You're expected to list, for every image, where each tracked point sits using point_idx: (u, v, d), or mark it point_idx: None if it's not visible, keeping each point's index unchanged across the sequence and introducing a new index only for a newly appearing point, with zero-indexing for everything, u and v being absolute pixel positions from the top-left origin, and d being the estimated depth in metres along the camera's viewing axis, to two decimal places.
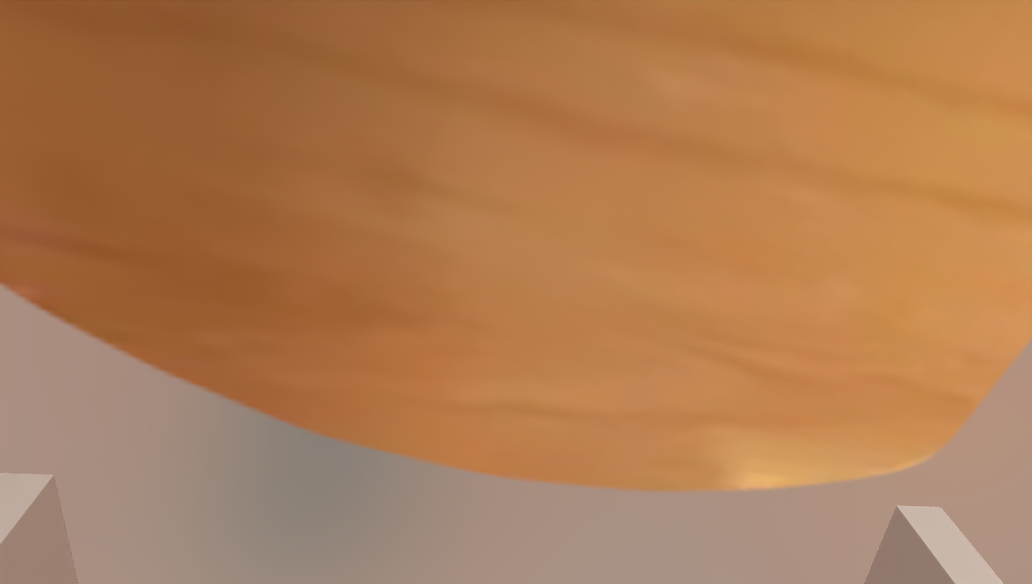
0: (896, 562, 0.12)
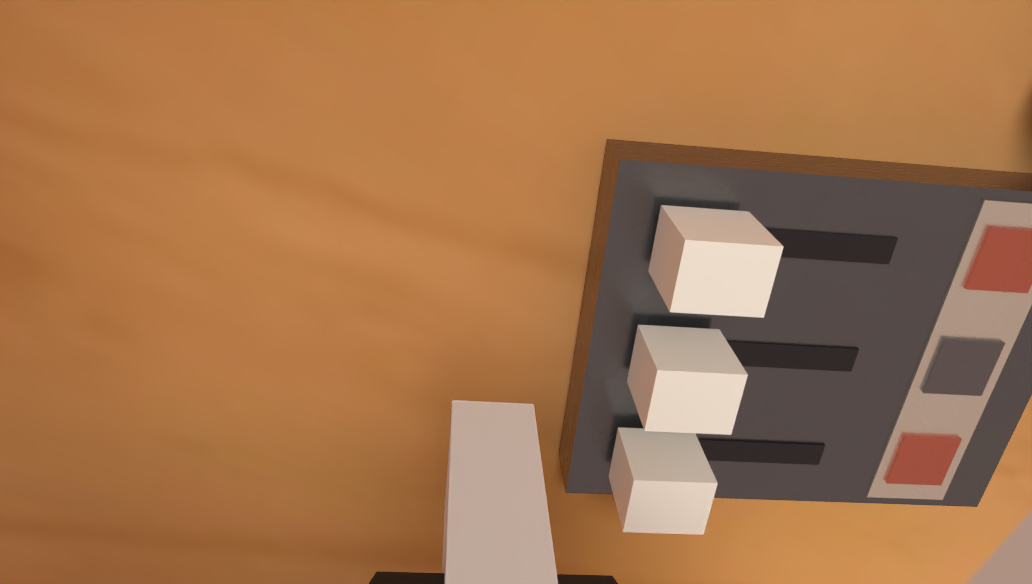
0: None
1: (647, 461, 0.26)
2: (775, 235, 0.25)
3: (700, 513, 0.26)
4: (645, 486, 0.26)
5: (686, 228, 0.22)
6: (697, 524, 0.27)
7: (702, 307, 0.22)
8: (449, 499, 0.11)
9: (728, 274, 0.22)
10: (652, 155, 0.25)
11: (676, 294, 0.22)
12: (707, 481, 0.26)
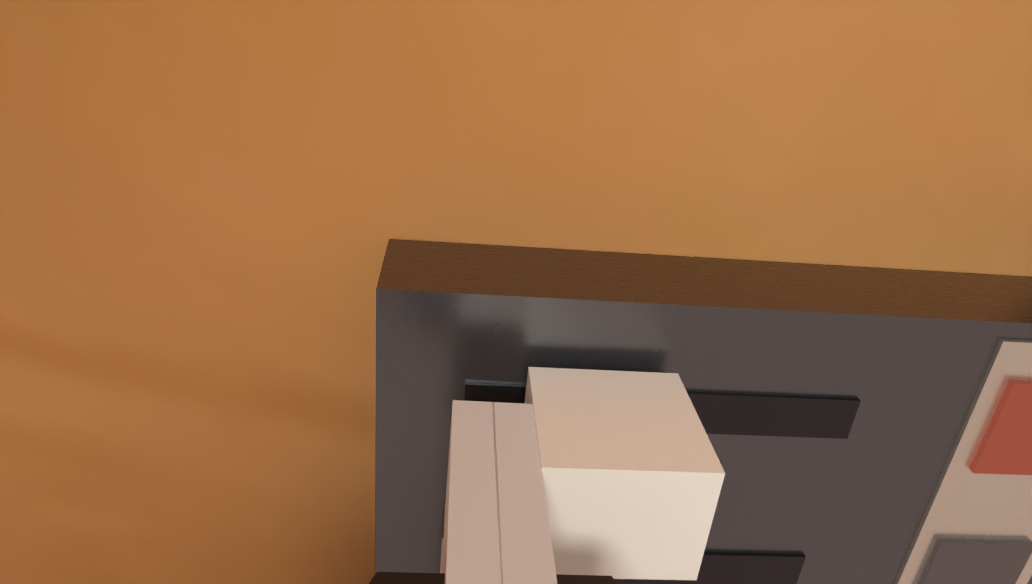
0: None
1: None
2: None
3: None
4: None
5: (554, 431, 0.13)
6: None
7: (585, 569, 0.13)
8: (449, 499, 0.11)
9: (627, 517, 0.12)
10: (444, 275, 0.15)
11: None
12: None
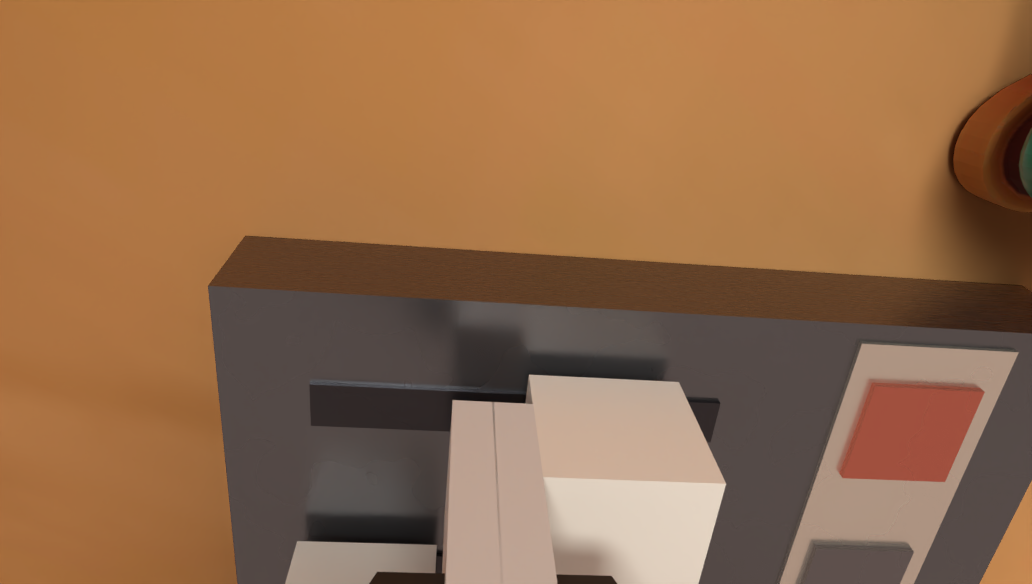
0: None
1: None
2: (512, 401, 0.15)
3: None
4: None
5: (555, 440, 0.12)
6: None
7: None
8: (449, 499, 0.11)
9: (628, 527, 0.12)
10: (286, 272, 0.14)
11: None
12: None
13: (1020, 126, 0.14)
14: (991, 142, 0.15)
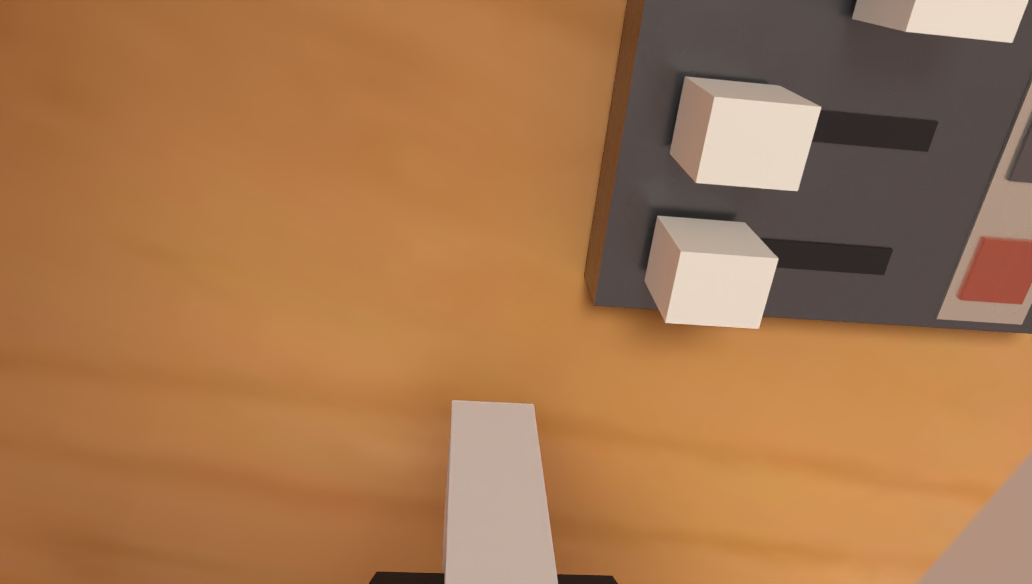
0: None
1: (694, 239, 0.23)
2: None
3: (756, 299, 0.22)
4: (693, 261, 0.22)
5: None
6: (752, 314, 0.23)
7: (943, 26, 0.19)
8: (449, 499, 0.11)
9: None
10: None
11: (916, 7, 0.19)
12: (766, 257, 0.22)
13: None
14: None
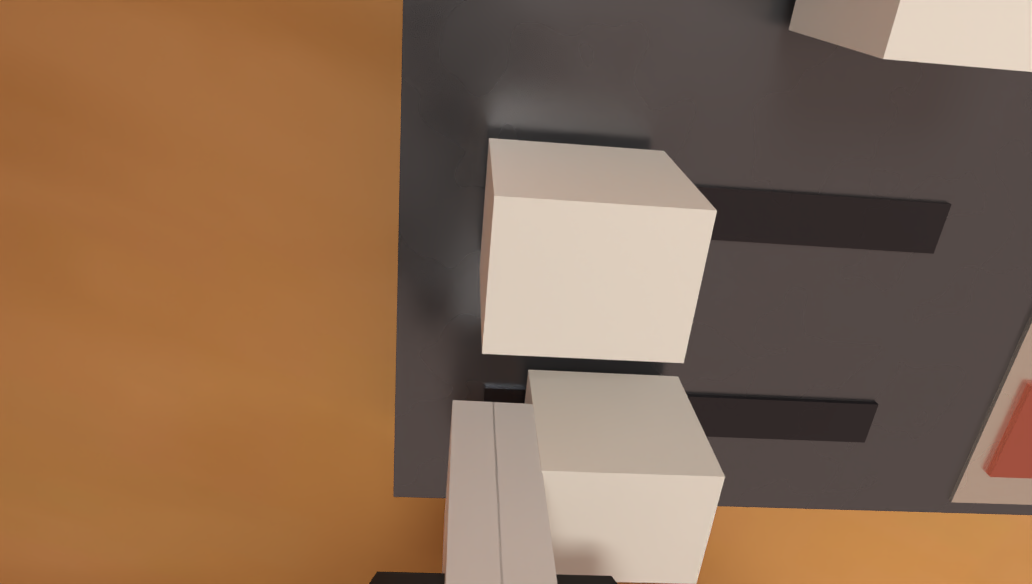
0: None
1: (576, 431, 0.13)
2: None
3: (689, 541, 0.12)
4: (566, 485, 0.12)
5: None
6: (683, 563, 0.13)
7: (963, 47, 0.09)
8: (449, 499, 0.11)
9: None
10: None
11: (904, 8, 0.09)
12: (702, 473, 0.12)
13: None
14: None
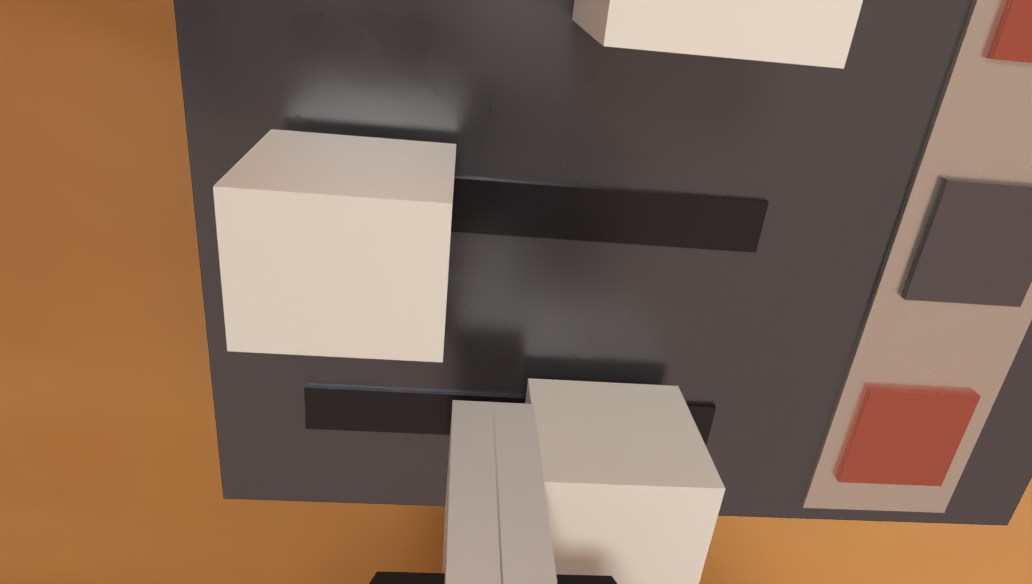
0: None
1: (576, 441, 0.13)
2: None
3: (688, 552, 0.12)
4: (567, 496, 0.12)
5: None
6: (682, 575, 0.13)
7: (687, 34, 0.09)
8: (449, 499, 0.11)
9: None
10: None
11: None
12: (703, 485, 0.12)
13: None
14: None
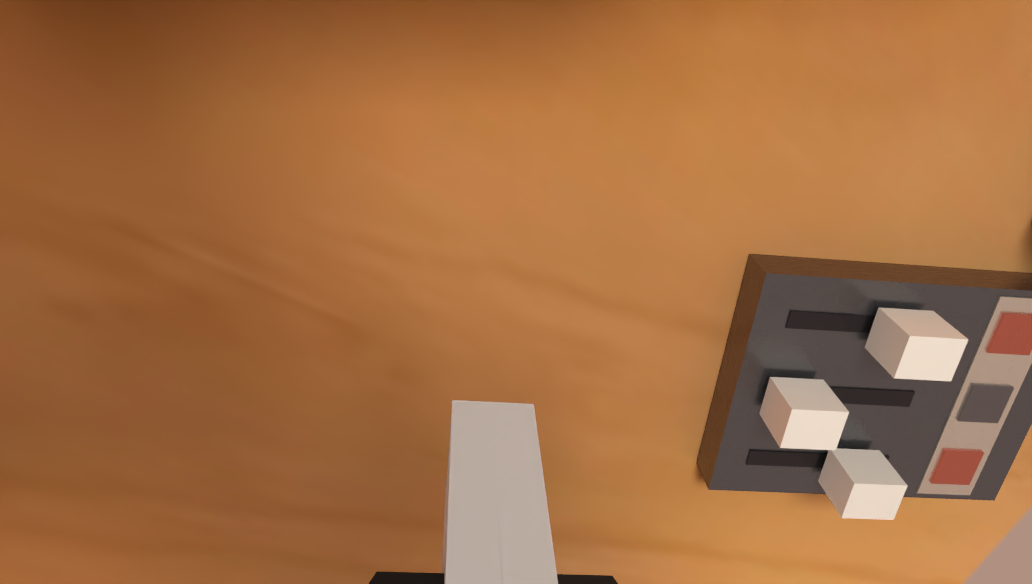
0: None
1: (857, 470, 0.40)
2: (863, 319, 0.39)
3: (893, 505, 0.40)
4: (860, 487, 0.39)
5: (905, 326, 0.36)
6: (890, 513, 0.40)
7: (914, 375, 0.36)
8: (449, 499, 0.11)
9: (933, 355, 0.36)
10: (784, 268, 0.38)
11: (899, 368, 0.36)
12: (900, 484, 0.39)
13: None
14: None
